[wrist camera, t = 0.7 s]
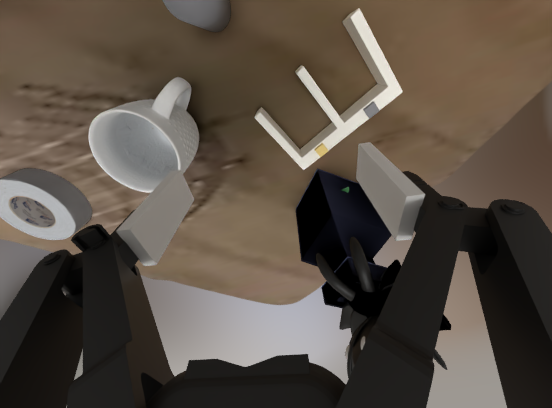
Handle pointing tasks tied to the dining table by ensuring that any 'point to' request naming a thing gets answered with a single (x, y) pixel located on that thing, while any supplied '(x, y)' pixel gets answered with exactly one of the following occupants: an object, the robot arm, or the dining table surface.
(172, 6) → the charcoal plug
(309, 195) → the vase
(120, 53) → the dining table surface
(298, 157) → the comb rack
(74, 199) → the grey wheel
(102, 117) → the mug
